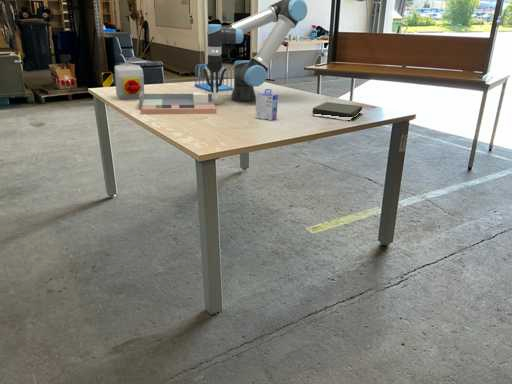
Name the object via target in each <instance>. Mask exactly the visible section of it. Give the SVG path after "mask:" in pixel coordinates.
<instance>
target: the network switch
mask: <svg viewBox="0 0 512 384" xmlns="http://www.w3.org/2000/svg"><path fill="white" fill-rule="evenodd" d="M361 110H362V111H363V106H362V105H355V104H347V103H337V102H329V101H326V102H325V101H324V102H323V103H321V104H319V105H316V106H315V107H313V108H312V115H313V114H321V115H331V116H339V117H353V116H356V115H357V114H358V113H359V112H360V111H361Z"/></svg>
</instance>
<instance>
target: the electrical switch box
mask: <svg viewBox="0 0 512 384" xmlns="http://www.w3.org/2000/svg"><path fill="white" fill-rule="evenodd" d="M144 76H145V75H144V70H143V67H141V66H140V65H139V64H134V63H133V64H132V63H122V64H117V65H115V66H114V78H115V91H116V92H115V94H116V96H117V98H118V100H120V101H124V100H127V101H128V100H139V95H140V93H141V91H144V92H145V81H144V80H145V78H144Z"/></svg>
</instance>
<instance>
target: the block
mask: <svg viewBox="0 0 512 384" xmlns="http://www.w3.org/2000/svg"><path fill="white" fill-rule="evenodd" d="M192 94H193V102H194V103H208V94H209V93H208V91H193V92H192Z"/></svg>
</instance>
